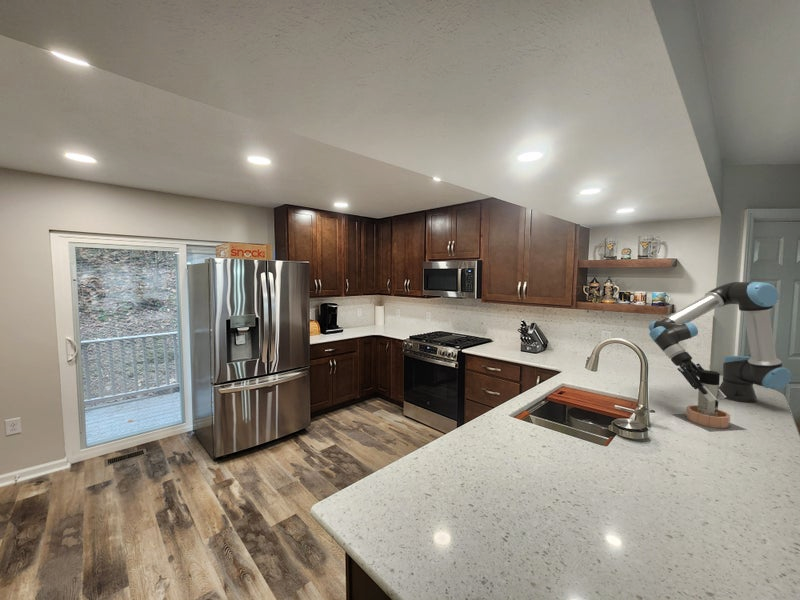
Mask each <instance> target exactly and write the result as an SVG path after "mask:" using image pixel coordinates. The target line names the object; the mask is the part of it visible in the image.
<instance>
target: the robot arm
mask: <svg viewBox="0 0 800 600" xmlns="http://www.w3.org/2000/svg"><path fill="white" fill-rule="evenodd" d="M779 298H780V294H779V290H778V289H777V288H776V287H775V286H774V285H773V284H770V283H769V282H761V281H732V282H727V283H725V284H722V285H720V286H717V287H715V288H713V289H711V290H709V291H708V292H706V293H704V296H702V297H701V298H699V299H697V300H695V301H694V302H692V303H690V304H688V305H687V306H685V307H683V308H681V309H679V310H677V311H675V312H674V313H673V314H671V315H668V316H667V317H664V318H663V319H661V320H653V321H651V322H650V323H649V325H648V329H649V332H648V334H649V336H650V338H651V340H653V342H654V343H655V344H656V345H657V346H658V347H659V349H660V350H661V351H662V352H664V354H665V356H667V357H668V358H669V359H670V361H671V362H672V363H673V365H675V366H676V367H677V371H679V372H680V373H681V375H682V376H683V377H684V379H685V380H686V381H687V382H688V383H689V384H690V386H691V387H692V388H694V389H695V390H697V389H698V391H699V390H700V391H701V393H702V394H703V395H704V396H705V397H706V398H707V399H708V401H709V402H712V401H714V400H716V398H715V397H714V396H713V395H712V393H711V392H710V391H709V390H708V389H707V388H706V387H705V386H703V385H702V384H701V382H700V381H699V376H700V371H701V370H705V368H703V367H702V365H701V364H700V363H696V364H695V363H694V362H693V361H692V359H693V357H692V356H691V355H690V354H689V352H688V351H686V349H685V348H684V346H682V345H681V344H680V342H683V341H685V340H688V339H692V338H694V337H696V336H697V335H698V334H699V330H698V327H697V326H696V325H695V324H694V323H692V321H694V320H697V319H698V318H700V317H701V316H703V315H705V314H707V313H709V312H711V311H712V310H715V309H716V308H718V309H720V308H722V307H725V306H728V305H738V310H739V312H741V313H743V315H744V320H745V321H744V323H745V327H746V328H745V329H746V333H747V340H748V345H749V347H748V348H749V351H750V356H745V355H743V356H742V355H726V356H725V357H724V359H723V364H722V365H723V366H722V367H723V368H722V381H721V383H720V384H719V398H718V401H721V400H723V399H727V400H731V401H735V402H742V403H756V402H757V400H758V397H757V394H756V392H755V388H754V385H756V386H760V387H763V388H765V389H771V390H777V391H778V390H781V389H784V388H785V387H787V386H788V385H789V384H790V382H791V380H792V372H791V371H790V369H788V368H786V367H784V366H783V362H782V360H781V359H779V358H778V357H777V354H776V346H775V341H774V335H773V329H772V321H771V315H770V311H771V310H773V309H774V306H775V305H776V304H777V303H778V300H779ZM678 366H679V367H678Z"/></svg>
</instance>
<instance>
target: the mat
mask: <svg viewBox="0 0 800 600" xmlns="http://www.w3.org/2000/svg"><path fill="white" fill-rule="evenodd" d="M670 415H671V416H674V417H675V418H677V419H680V420H683V421H685V422H687V423H689V424H691V425H694V426H696V427H698V428H700V429H702V430H706V431H708V432H728V431H730V432H731V431H748V429H747V428H745V427H742V426H740V425H737V424H735V423H732V422H730V425H729V427H728V428H724V429H721V428H712V427H707V426H703V425H699V424H696V423H694V422H692V421H690V420H688V419H687V416H686V413H671V414H670Z"/></svg>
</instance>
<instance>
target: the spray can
mask: <svg viewBox="0 0 800 600" xmlns="http://www.w3.org/2000/svg"><path fill="white" fill-rule="evenodd" d="M720 377H721V376H720V372H719V371H718V372H717V371H714V370H709V369H707V370H706V369H704V370H701V371H700V376H699V377H698V379H699V381H700V382H701V384H702V385H703V386H705V387H706V388H707V389H708V390H709V391H710V392H711V393H712V395H713V396H714V397H715V398H716V400H714V401H712V402H709V401H708V399H707V398H706V397H705V396H704V395H703V394H702V393H701V391H700V390H699V389H698V398H697V399H698V400H697V405H698V413H701V414H705V415H709V416H716V417H717V415H718V409H719V399H718V398H719V387H720Z"/></svg>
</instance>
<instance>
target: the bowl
mask: <svg viewBox="0 0 800 600" xmlns="http://www.w3.org/2000/svg"><path fill="white" fill-rule="evenodd" d="M685 414H686V416H687V419H688V420H690V421H692V422H694V423H696V424H699V425H703V426H707V427H712V428H721V429H724V428H728V427H729V425H730V423H731V421H730V420H731V414H730V413H728V412H727V411H724V410H721V409H719V408H718V415H717V417H716V416H709V415H705V414H701V413H698V404H696V405H695V404H694V405H693V404H692V405H687V406H686V411H685Z"/></svg>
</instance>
